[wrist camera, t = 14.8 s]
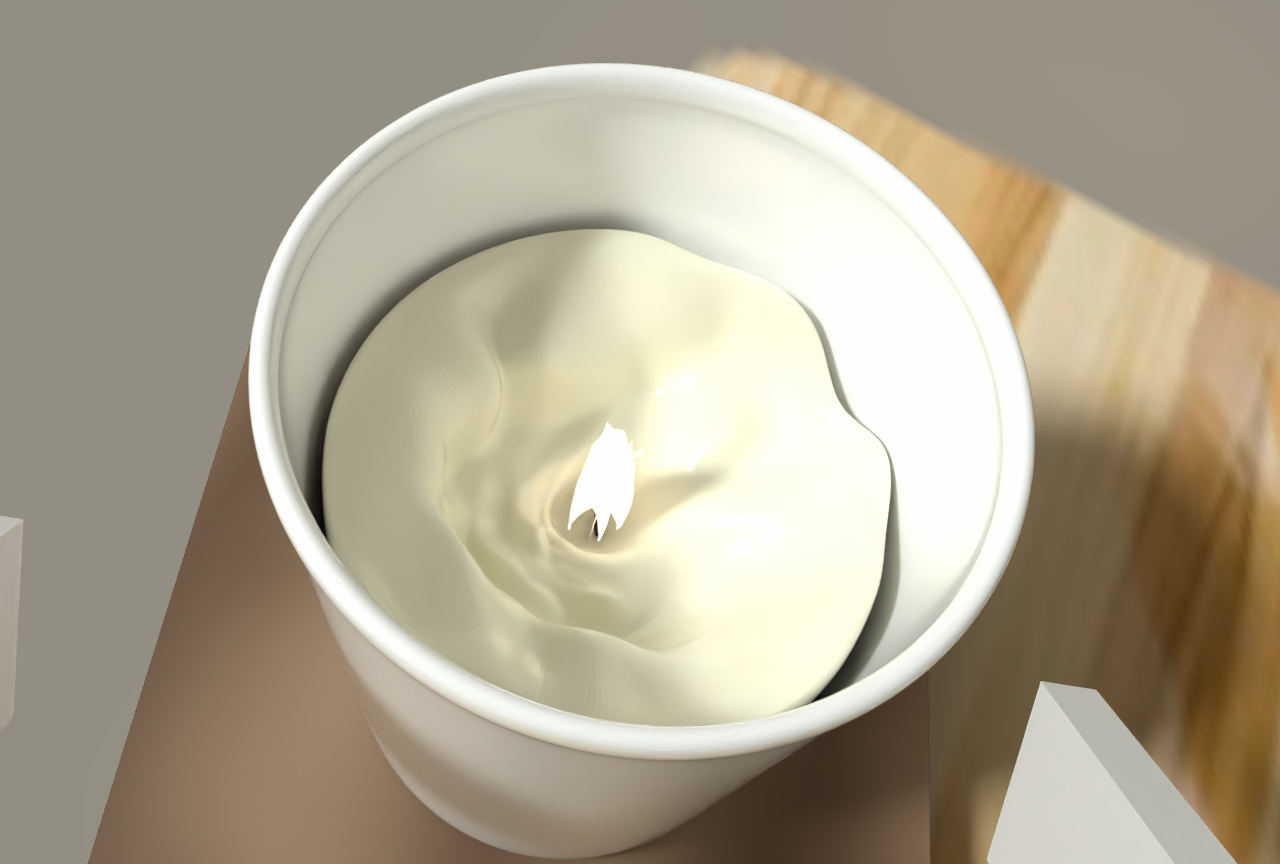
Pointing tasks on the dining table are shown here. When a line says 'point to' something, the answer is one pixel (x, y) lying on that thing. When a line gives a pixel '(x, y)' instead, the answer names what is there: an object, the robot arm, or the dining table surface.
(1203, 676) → the dining table surface
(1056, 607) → the dining table surface
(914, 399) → the candle holder
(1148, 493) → the dining table surface
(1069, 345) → the dining table surface
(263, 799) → the walnut board
